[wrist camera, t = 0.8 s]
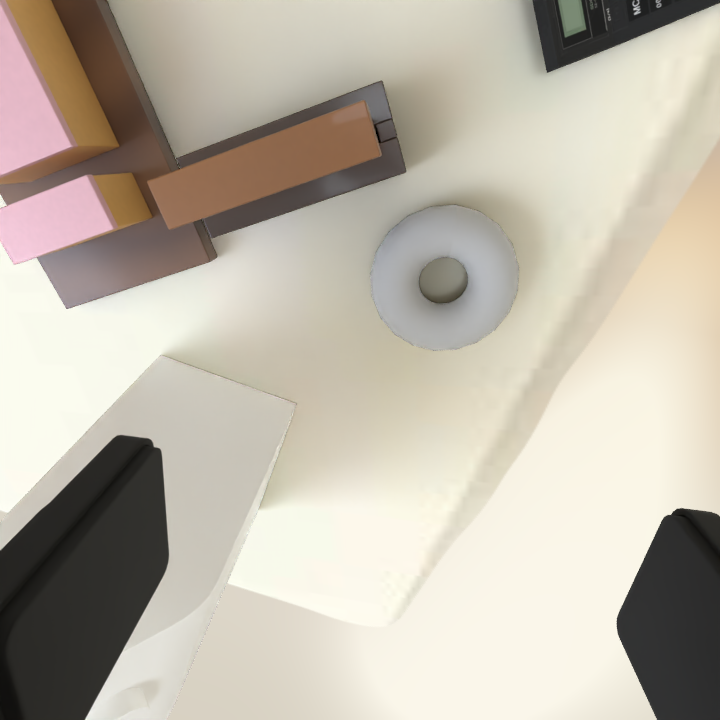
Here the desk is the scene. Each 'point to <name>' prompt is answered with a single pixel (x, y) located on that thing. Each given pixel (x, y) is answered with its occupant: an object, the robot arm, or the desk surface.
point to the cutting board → (134, 155)
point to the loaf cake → (44, 96)
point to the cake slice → (71, 215)
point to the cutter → (267, 165)
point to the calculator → (602, 24)
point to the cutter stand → (316, 188)
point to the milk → (178, 514)
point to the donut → (438, 240)
